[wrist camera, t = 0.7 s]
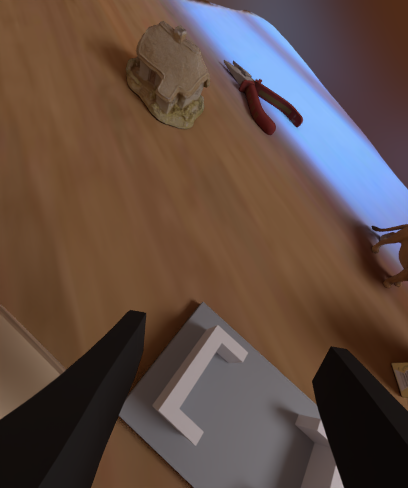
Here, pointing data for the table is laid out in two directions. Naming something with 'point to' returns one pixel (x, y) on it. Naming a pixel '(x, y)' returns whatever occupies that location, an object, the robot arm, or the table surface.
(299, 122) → the pliers
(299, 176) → the table surface
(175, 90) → the ceramic model
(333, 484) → the board
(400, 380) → the candy box
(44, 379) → the beige rectangular block
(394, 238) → the lion figurine
